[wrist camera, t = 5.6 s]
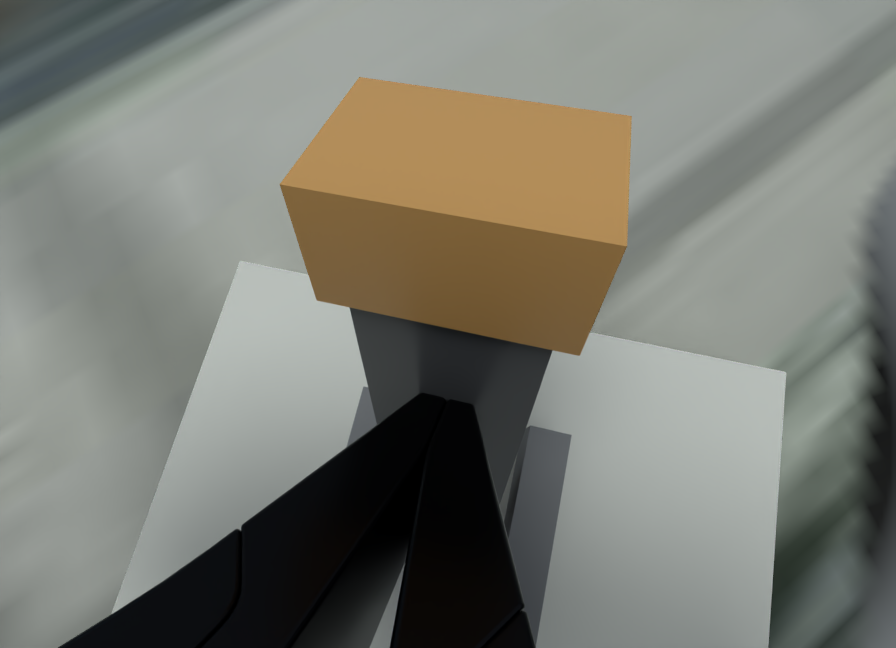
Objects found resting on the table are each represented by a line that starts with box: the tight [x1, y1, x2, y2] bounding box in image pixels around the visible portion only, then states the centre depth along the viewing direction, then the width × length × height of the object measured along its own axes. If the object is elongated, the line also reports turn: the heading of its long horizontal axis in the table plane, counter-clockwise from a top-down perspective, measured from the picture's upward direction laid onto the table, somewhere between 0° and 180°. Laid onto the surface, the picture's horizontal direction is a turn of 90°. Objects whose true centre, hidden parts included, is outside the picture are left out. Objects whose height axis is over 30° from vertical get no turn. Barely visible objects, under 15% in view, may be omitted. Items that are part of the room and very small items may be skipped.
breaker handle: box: [280, 77, 632, 505], centre depth 9 cm, size 2×3×11 cm, turn 77°
